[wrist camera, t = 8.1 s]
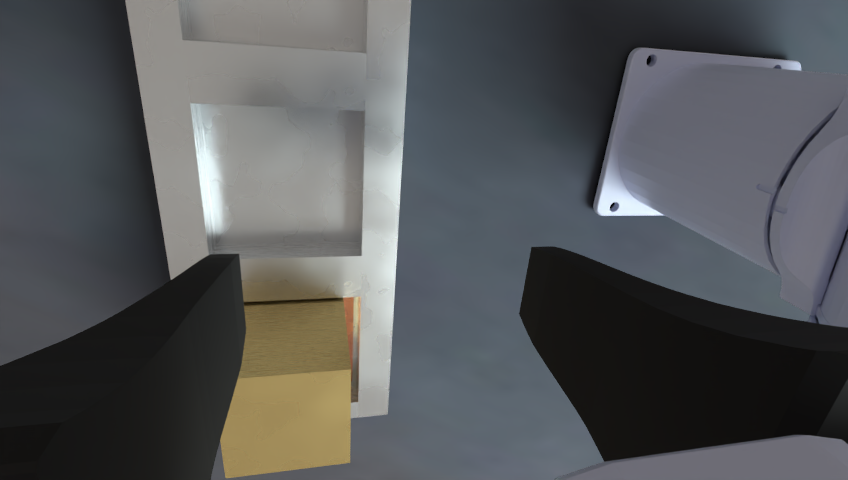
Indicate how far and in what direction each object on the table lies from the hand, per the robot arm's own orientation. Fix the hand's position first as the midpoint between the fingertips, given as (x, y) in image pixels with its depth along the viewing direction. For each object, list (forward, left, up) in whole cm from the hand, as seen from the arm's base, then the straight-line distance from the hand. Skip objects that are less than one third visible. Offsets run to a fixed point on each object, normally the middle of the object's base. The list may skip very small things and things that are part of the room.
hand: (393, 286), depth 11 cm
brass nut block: (+3, +7, -9) cm, 12 cm away
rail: (+3, 0, -10) cm, 11 cm away
